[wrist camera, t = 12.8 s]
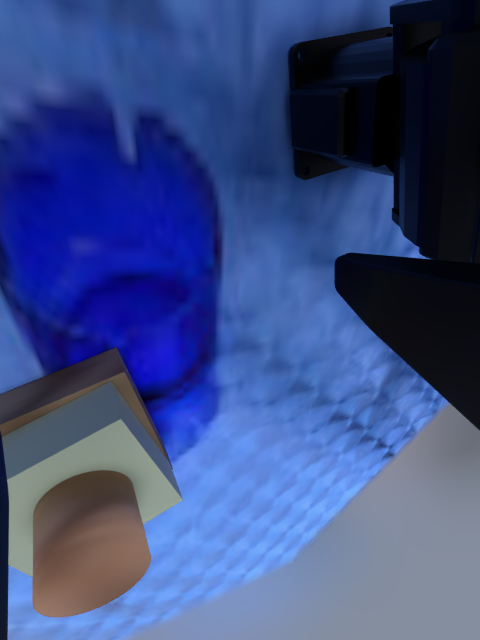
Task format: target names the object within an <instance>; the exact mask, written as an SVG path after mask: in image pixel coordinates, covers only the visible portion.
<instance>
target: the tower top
mask: <svg viewBox="0 0 480 640" xmlns="http://www.w3.org/2000/svg"><path fill="white" fill-rule="evenodd" d="M2 442H3V450H4V458H5V466H6V474H7V482H8V492H9V562H8V565H10V566H12V567H14V568H16V569H17V570H19V571H21V572H23V573H25V574H27V575H29V576H31V577H33V513H34V509H35V507H36V505H37V503H38V501H39V500H40V499H41V498H42V497H43V495H44V494H45V493H46V492H48V491H49V490H50V489H51V488H53V487H54V486H56V485H57V484H59V483H61V482H62V481H64V480H66V479H68V478H71V477H73V476H76V475H79V474H82V473H86V472H91V471H98V470H110V471H116V472H119V473H122V474H124V475H126V476H127V477H128V478H129V479H130V480H131V481H132V483H133V486H134V490H135V494H136V498H137V502H138V507H139V511H140V515H141V519H142V523H143V524H144V523H146V522H148V521H149V520H151V519H152V518H154V517H156V516H157V515H159V514H161V513H162V512H164V511H166V510H167V509H169V508H170V507H172V506H174V505H175V504H177V503H179V502H180V501H182V500H183V499H182V496H181V493H180V490H179V488H178V485H177V482H176V479H175V476H174V474H173V471H172V468H171V465H170V463H169V461H168V460H167V459H166V457H165V456H164V454H163V453H162V452H161V450H160V449H159V447H158V446H157V445H156V443H155V442H154V440H153V439H152V438H151V436H150V435H149V433H148V432H147V431H146V429H145V428H144V426H143V425H142V424H141V422H140V421H139V419H138V418H137V417H136V415H135V414H134V412H133V411H132V410H131V408H130V407H129V405H128V404H127V403H126V401H125V400H124V398H123V397H122V396H121V394H120V393H119V391H118V390H117V389H116V387H115V386H114V384H113V383H112V382H111V381H110V382H108V383H106V384H104V385H102V386H100V387H98V388H96V389H94V390H93V391H91V392H89V393H87V394H85V395H83V396H81V397H79V398H77V399H75V400H73V401H71V402H69V403H67V404H65V405H63V406H61V407H59V408H57V409H55V410H53V411H51V412H49V413H48V414H46V415H44V416H42V417H40V418H38V419H36V420H34V421H32V422H30V423H28V424H26V425H24V426H22V427H20V428H18V429H16V430H14V431H12V432H10V433H8V434H6V435H5V436H3V437H2Z"/></svg>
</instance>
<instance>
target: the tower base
mask: <svg viewBox="0 0 480 640" xmlns="http://www.w3.org/2000/svg"><path fill="white" fill-rule="evenodd" d="M110 381H111V382H112V383H113V384H114V386H115V387H116V389H117V390H118V391H119V393H120V394H121V396H122V397H123V398H124V400H125V401H126V403H127V404H128V405H129V407H130V408H131V410H132V411H133V412H134V414H135V415H136V417H137V418H138V419H139V421H140V422H141V424H142V425H143V426H144V428H145V429H146V431H147V432H148V433H149V435H150V436H151V438H152V439H153V440H154V442H155V443H156V445H157V446H158V447H159V449H160V450H161V452H162V453H163V454H164V456H165V457H166V459H167V460H168V461H169V463H170V460H169V457H168V454H167V452H166V449H165V446H164V444H163V441H162V439H161V437H160V435H159V433H158V431H157V429H156V427H155V425H154V423H153V421H152V419H151V417H150V415H149V413H148V411H147V409H146V407H145V404H144V402H143V400H142V398H141V396H140V394H139V392H138V390H137V388H136V386H135V384H134V382H133V380H132V378H131V376H130V374H129V372H128V369H127V367H126V365H125V363H124V361H123V359H122V357H121V355H120V353H119V351H118V349H117V347H116V348H113V349H111V350H109V351H106V352H104V353H101V354H99V355H96V356H94V357H91V358H89V359H86V360H84V361H81V362H79V363H76V364H74V365H72V366H69V367H67V368H64V369H62V370H59V371H57V372H54V373H52V374H49V375H47V376H44V377H42V378H40V379H37V380H35V381H32V382H30V383H27V384H25V385H22V386H20V387H17V388H15V389H12V390H10V391H7V392H5V393H3V394H0V430H1V434H2V437H3V436H5V435H6V434H8V433H10V432H12V431H14V430H16V429H18V428H20V427H22V426H24V425H26V424H28V423H30V422H32V421H34V420H36V419H38V418H40V417H42V416H44V415H46V414H48V413H49V412H51V411H53V410H55V409H57V408H59V407H61V406H63V405H65V404H67V403H69V402H71V401H73V400H75V399H77V398H79V397H81V396H83V395H85V394H87V393H89V392H91V391H93V390H94V389H96V388H98V387H100V386H102V385H104V384H106V383H108V382H110ZM170 465H171V463H170ZM171 468H172V465H171ZM172 469H173V468H172Z"/></svg>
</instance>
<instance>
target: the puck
mask: <svg viewBox="0 0 480 640" xmlns="http://www.w3.org/2000/svg"><path fill="white" fill-rule="evenodd" d="M150 561H151V555H150V551H149V547H148V543H147V539H146V535H145V531H144V527H143V523H142V519H141V515H140V511H139V507H138V502H137V498H136V494H135V490H134V486H133V483H132V481H131V480H130V479H129V478H128V477H127V476H126V475H124V474H122V473H119V472H116V471H110V470H98V471H91V472H86V473H82V474H79V475H76V476H73V477H71V478H68V479H66V480H64V481H62V482H61V483H59V484H57V485H56V486H54V487H53V488H51V489H50V490H49V491H48V492H46V493H45V494H44V495H43V497H42V498H41V499H40V500H39V501H38V503H37V505H36V507H35V509H34V513H33V607H34V609H35V610H36V611H37V612H38V613H40V614H42V615H44V616H48V617H67V616H73V615H78V614H82V613H85V612H88V611H91V610H94V609H96V608H99V607H101V606H103V605H105V604H107V603H109V602H111V601H113V600H114V599H116V598H118V597H119V596H121V595H122V594H124V593H125V592H127V591H128V590H129V589H131V588H132V587H133V586H134V585H135V584H136V583H137V582H138V581H139V580H140V579H141V578H142V577H143V576H144V574H145V573H146V571H147V569H148V568H149V565H150Z"/></svg>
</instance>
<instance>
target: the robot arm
mask: <svg viewBox="0 0 480 640" xmlns="http://www.w3.org/2000/svg"><path fill="white" fill-rule="evenodd" d="M390 24H393V27H385V28H379V29H374V30H368V31H362V32H357V33H351V34H345V35H340V36H334V37H328V38H322V39H317V40H311V41H305V42H300V43H296V44H294V45H293V46H292V48H291V50H290V55H289V60H290V80H291V95H290V110H291V129H292V145H293V147H294V158H295V173H296V176H297V177H298V178H300V179H303V180H307V179H310V178H314V177H317V176H320V175H324V174H327V173H330V172H333V171H337V170H340V169H343V168H347V167H354V168H358V169H363V170H367V171H371V172H376V173H380V174H384V175H389V176H393V177H394V208H392V220H393V221H394V222H395V223H396V224H397V225H398V226H400V228H401V231H402V233H403V235H404V237H406V238H407V239H408V240H410V241H411V242H412V243H414V244H415V245H416V246H418V247H419V253H420V254H421V255H423V256H424V257H426V258H429V259H420V258H408V257H396V256H384V255H372V254H360V253H347V254H345V255H342V256H340V257H338V258H337V259H336V260H335V282H334V283H335V288H336V290H337V292H338V293H339V294H340V296H341V297H342V298H343V299H344V300H345V301H346V302H347V304H348V305H349V306H350V307H351V308H352V309H353V310H354V312H355V313H356V314H357V315H358V316H359V317H360V318H361V320H362V321H363V322H364V323H365V324H366V325H367V326H368V327H369V328H370V329H371V330H372V331H373V332H374V333H375V334H376V335H377V336H378V337H379V338H380V339H381V340H382V341H383V342H384V343H385V344H387V345H388V346H389V347H390V348H391V349H392V350H393V351H394V352H395V353H396V354H397V355H398V356H400V357H401V358H402V359H403V360H404V361H405V362H406V363H407V364H408V365H409V366H410V367H411V368H412V369H414V370H415V371H416V372H417V373H418V374H419V375H420V376H421V377H422V378H423V379H424V380H425V381H427V382H428V383H429V384H430V385H431V386H432V387H433V388H434V389H435V390H436V391H437V392H438V393H440V394H441V395H442V396H443V397H444V398H445V399H446V400H447V401H448V402H449V403H450V404H451V405H453V406H454V407H455V408H456V409H457V410H458V411H459V412H460V413H461V414H462V415H463V416H464V417H466V418H467V419H468V420H469V421H470V422H471V423H472V424H473V425H474V426H475V427H476V428H477V429H479V430H480V0H405V1H402V2H400V3H397V4H395V5H392V6H390ZM385 36H387V38H385ZM299 50H301V52H302V58H301V60H299V58H298V52H299ZM304 167H306V171H305V173H304V174H303V169H304ZM8 562H9V492H8V482H7V474H6V466H5V458H4V450H3V442H2V434H1V430H0V640H7V634H8Z"/></svg>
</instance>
